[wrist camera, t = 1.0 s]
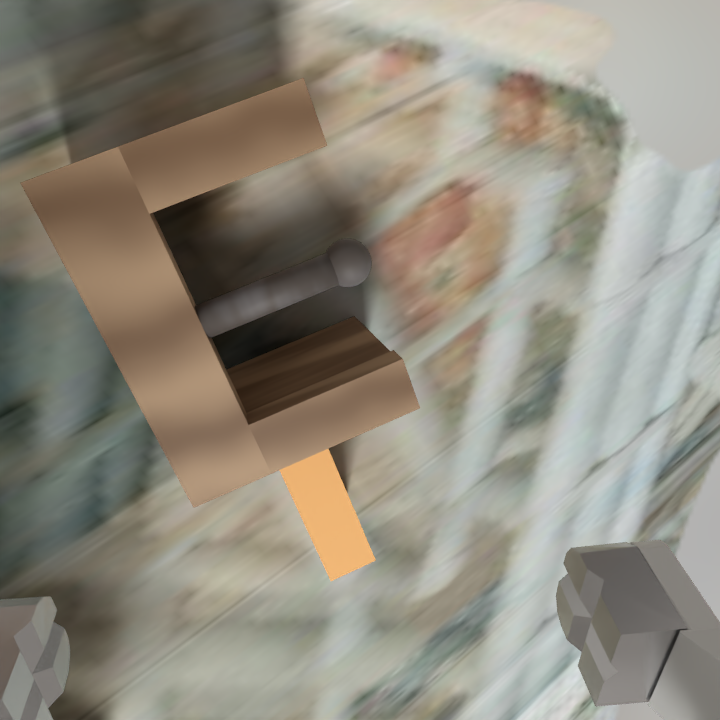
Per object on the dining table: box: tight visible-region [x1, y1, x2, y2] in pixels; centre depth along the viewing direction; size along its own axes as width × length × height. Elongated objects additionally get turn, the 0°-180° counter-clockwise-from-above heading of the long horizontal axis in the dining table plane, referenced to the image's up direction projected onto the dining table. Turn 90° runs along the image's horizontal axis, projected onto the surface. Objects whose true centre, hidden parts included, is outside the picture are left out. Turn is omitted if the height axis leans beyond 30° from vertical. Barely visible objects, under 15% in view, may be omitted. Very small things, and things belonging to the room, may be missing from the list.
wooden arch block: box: [280, 449, 376, 581], centre depth 50 cm, size 10×4×10 cm, turn 20°
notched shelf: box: [21, 78, 420, 507], centre depth 42 cm, size 20×15×14 cm
